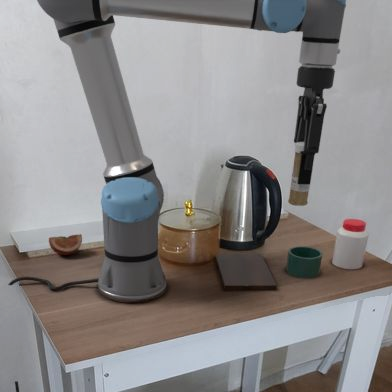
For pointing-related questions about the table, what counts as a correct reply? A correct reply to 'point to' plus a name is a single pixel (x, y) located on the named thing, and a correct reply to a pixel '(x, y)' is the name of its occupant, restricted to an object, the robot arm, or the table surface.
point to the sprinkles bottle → (297, 190)
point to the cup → (304, 262)
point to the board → (244, 272)
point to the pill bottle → (350, 244)
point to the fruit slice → (65, 244)
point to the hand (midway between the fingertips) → (300, 180)
